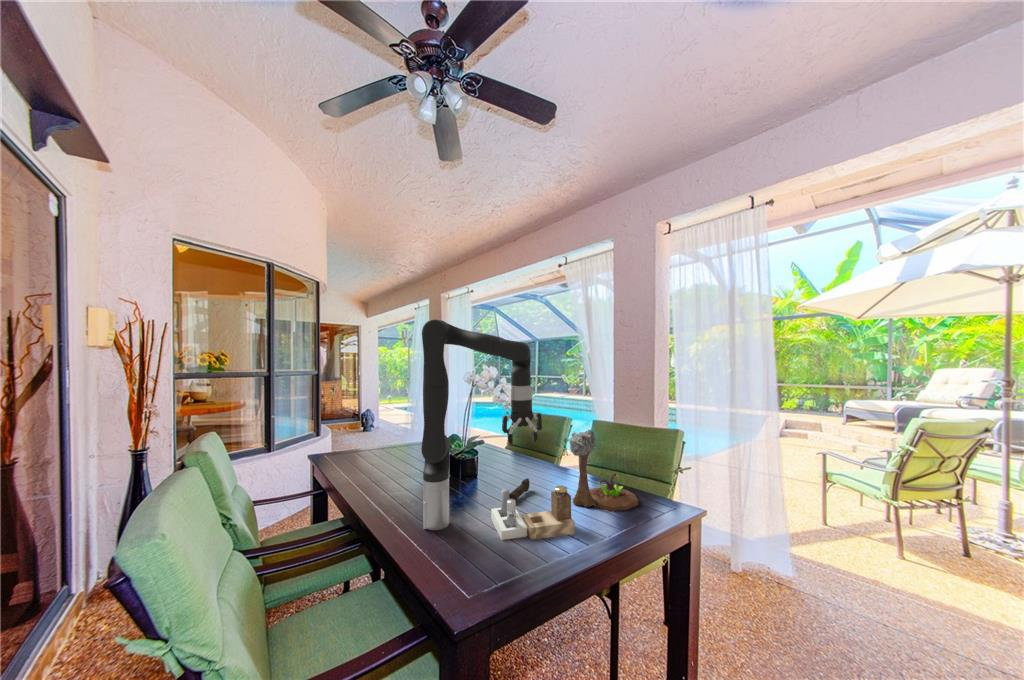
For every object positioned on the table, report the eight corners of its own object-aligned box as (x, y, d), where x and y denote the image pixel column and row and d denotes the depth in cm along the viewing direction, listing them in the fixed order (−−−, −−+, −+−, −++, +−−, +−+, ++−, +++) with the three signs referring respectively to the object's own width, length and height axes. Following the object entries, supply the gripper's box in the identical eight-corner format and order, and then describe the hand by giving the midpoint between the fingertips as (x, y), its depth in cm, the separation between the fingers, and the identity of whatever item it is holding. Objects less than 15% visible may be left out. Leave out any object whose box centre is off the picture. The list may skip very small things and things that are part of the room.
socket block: (530, 543, 122) (530, 504, 122) (522, 528, 132) (522, 492, 132) (574, 536, 126) (574, 498, 126) (563, 522, 136) (563, 487, 136)
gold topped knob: (557, 511, 127) (557, 491, 127) (553, 505, 132) (552, 486, 132) (569, 509, 129) (569, 489, 129) (564, 504, 133) (564, 485, 133)
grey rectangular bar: (506, 533, 128) (506, 499, 128) (514, 532, 129) (514, 498, 129) (508, 538, 125) (508, 503, 125) (516, 536, 126) (516, 502, 126)
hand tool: (515, 504, 150) (515, 492, 150) (506, 502, 152) (506, 491, 152) (534, 488, 167) (534, 478, 167) (526, 486, 169) (526, 476, 169)
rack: (501, 543, 122) (501, 507, 122) (491, 519, 138) (491, 487, 138) (527, 539, 124) (526, 504, 124) (514, 516, 141) (514, 485, 141)
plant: (647, 505, 150) (647, 478, 150) (609, 515, 141) (609, 487, 141) (614, 488, 168) (614, 463, 168) (579, 496, 160) (579, 470, 160)
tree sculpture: (594, 513, 142) (593, 437, 142) (568, 510, 145) (567, 435, 146) (597, 498, 156) (597, 428, 156) (574, 495, 160) (573, 426, 160)
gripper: (537, 395, 136) (538, 438, 136) (499, 397, 132) (500, 442, 132) (543, 398, 128) (544, 444, 128) (504, 400, 125) (505, 447, 125)
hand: (522, 443), depth 130 cm, fingers open, 8 cm apart
